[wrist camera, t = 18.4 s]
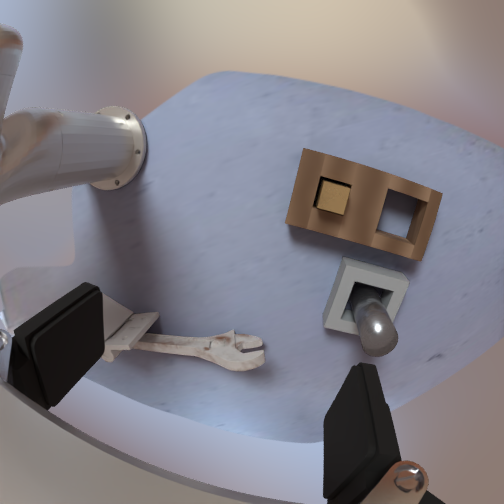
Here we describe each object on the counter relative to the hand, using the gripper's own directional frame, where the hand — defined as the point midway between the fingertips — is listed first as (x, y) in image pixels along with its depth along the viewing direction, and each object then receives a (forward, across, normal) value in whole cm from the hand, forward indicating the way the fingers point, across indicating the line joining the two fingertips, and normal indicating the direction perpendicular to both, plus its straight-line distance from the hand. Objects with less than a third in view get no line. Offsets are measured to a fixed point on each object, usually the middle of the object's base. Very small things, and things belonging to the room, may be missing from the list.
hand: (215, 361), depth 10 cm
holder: (+30, -14, +8) cm, 34 cm away
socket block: (+30, -10, -4) cm, 32 cm away
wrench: (+31, +11, +23) cm, 40 cm away
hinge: (+31, +21, +22) cm, 43 cm away
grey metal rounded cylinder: (+30, -14, +8) cm, 34 cm away
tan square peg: (+30, -5, -4) cm, 31 cm away
